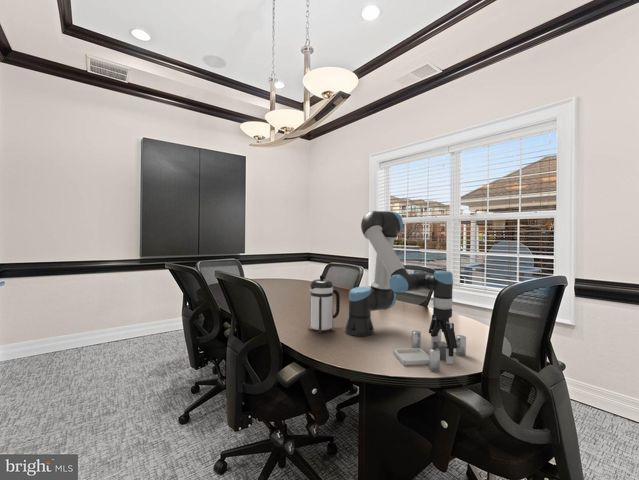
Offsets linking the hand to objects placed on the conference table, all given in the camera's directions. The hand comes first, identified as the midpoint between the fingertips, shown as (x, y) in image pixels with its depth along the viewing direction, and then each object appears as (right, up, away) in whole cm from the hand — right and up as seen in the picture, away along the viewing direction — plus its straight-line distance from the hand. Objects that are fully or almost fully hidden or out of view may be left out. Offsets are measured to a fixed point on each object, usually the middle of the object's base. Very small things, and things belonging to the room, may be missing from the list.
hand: (441, 356), depth 132 cm
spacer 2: (-8, -1, -12) cm, 14 cm away
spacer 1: (-8, 0, +9) cm, 12 cm away
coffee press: (-51, +1, +36) cm, 62 cm away
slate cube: (0, 0, 0) cm, 0 cm away
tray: (-13, 0, -2) cm, 13 cm away
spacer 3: (+3, 0, +12) cm, 13 cm away
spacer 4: (+10, 0, +3) cm, 10 cm away
